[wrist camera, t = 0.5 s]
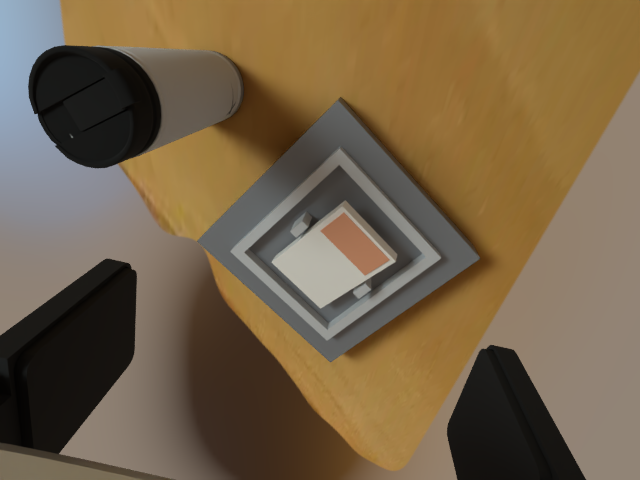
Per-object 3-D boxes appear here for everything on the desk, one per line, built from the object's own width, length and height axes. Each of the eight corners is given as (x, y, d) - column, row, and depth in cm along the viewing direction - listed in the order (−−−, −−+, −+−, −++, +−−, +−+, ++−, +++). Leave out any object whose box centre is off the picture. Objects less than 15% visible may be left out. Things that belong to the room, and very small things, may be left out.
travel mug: (258, 104, 39) (160, 145, 21) (200, 130, 41) (62, 189, 23) (228, 37, 37) (90, 17, 19) (168, 67, 39) (-12, 76, 21)
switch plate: (340, 97, 38) (335, 103, 33) (473, 245, 42) (487, 271, 37) (207, 230, 45) (186, 252, 40) (332, 345, 50) (328, 378, 44)
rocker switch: (345, 200, 36) (342, 206, 35) (397, 254, 38) (395, 262, 37) (275, 255, 42) (270, 262, 41) (323, 301, 43) (320, 309, 42)
